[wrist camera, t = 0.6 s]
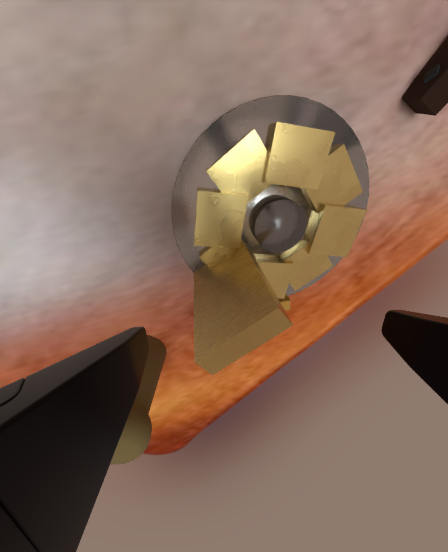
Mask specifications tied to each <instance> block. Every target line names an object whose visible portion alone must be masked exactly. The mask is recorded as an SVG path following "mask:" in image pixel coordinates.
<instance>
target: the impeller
mask: <svg viewBox="0 0 448 552" xmlns="http://www.w3.org/2000/svg"><path fill="white" fill-rule="evenodd" d="M274 122H281V123H287V124H292V125H298V126H304V127H310V128H315V129H321V130H327V131H332V132H335V135H334V139H333V142H332V145H331V147H332V146H333V145H335V144H344V145H345V147H346V150H347V152H348V155H349V157H350V160H351V162H352V165H353V168H354V170H355V173H356V175H357V178H358V180H359V183H360V185H361V188H362V190H363V192H362V193H361V194H359V195H358V196H357V197H355V198H354V199H353V200H351V201H350V202H348V203H347V204H348V205H355V206H357V207H360V208H363V209H366V208H367V202H368V196H369V174H368V166H367V162H366V157H365V154H364V151H363V149H362V146H361V144H360V142H359V140H358V138H357V136H356V135H355V133H354V131H353V130H352V129H351V128H350V126H349V125H348V124H347V123H346V122H345V120H344V119H343V118H341V117H340V116H339V115H338V114H337V113H335V112H334V111H333V110H331V109H330V108H328V107H326V106H325V105H323V104H321V103H319V102H316V101H313V100H310V99H308V98H303V97H297V96H291V95H286V96H270V97H264V98H259V99H256V100H253V101H250V102H247V103H244V104H242V105H240V106H238V107H236V108H234V109H233V110H231V111H229V112H227V113H226V114H225V115H223V116H222V117H220V118H219V119H218V120H216V121H215V122H214V123H213V124H212V125H211V126H210V127H209V128H208V129H207V130H206V131H205V132H204V133H203V134H202V135H201V136H200V137H199V139H198V140H197V141H196V143H195V144H194V145H193V146H192V148H191V150H190V151H189V153H188V155H187V157H186V158H185V160H184V162H183V164H182V167H181V169H180V172H179V174H178V177H177V181H176V184H175V188H174V193H173V201H172V223H173V230H174V235H175V238H176V242H177V245H178V247H179V250H180V252H181V254H182V256H183V258H184V260H185V261H186V263H187V265H188V266H189V267H190V269H191V270H192V271H193V272H196V271H197V270H198V269H200V268H201V267H202V266H203V265H205V263H204V262H203V261H202V260H201V259H200V258H199V251H200V250H202V249H203V248H204V247H206V246H194V229H195V214H196V199H197V187H204V188H212V189H219V188H218V187H217V185H216V184H215V183H214V181H213V180H212V179H211V177H210V176H209V174H208V173H207V172H206V169H207V168H208V167H209V166H211V165H212V164H213V163H214V162H215V161H216V160H217V159H219V158H220V157H221V156H222V155H223V154H224V153H225V152H226V151H228V150H229V149H230V148H231V147H232V146H233V145H234V144H235V143H237V142H238V141H239V140H240V139H241V138H242V137H243V136H244V135H246V134H247V133H248V132H249V131H250V130H252V129H255V131H256V132H257V134H258V136H259V138H260V139H261V141H262V143H263V145H264V146H265V142H266V137H267V131H268V126H269V124H271V123H274ZM311 212H312V209H311V207H310V206H309V204H308V202H307V200H306V198H305V197H304V195H303V193H302V191H301V189H300V187H292V186H284V185H276V184H271V185H270V186H269V187H267V188H266V189H265V190H264V191H262V192H261V193H260V194H259V195H257V196H256V197H255V198H254V199H252V200H251V201H250V202H249V203H248V204H247V206H246V212H245V218H244V224H243V230H242V236H241V238H242V240H243V241H244V242H245V243H246V245H247V246H248V247H249V248H250V250H251V251H252V252H253V253H255V254H268V255H281V254H282V253H284V252H285V251H286V250H289V249H291V248H292V247H294V246H295V245H296V244H297V243H298V242H299V241H300V240H302V239H303V238H304V234H305V231H306V228H307V225H308V222H309V218H310V215H311ZM363 219H364V218H363ZM362 222H363V221H362ZM361 224H362V223H361ZM360 227H361V225H360ZM359 229H360V228H359ZM358 232H359V230H358ZM357 234H358V233H357ZM356 236H357V235H356ZM355 238H356V237H355ZM328 258H329V259H330V261H331V263H332V265H333V267H334V266H335V265H336V264H337V263H338V262H339V261H340V260H341V259H342V257H340V256H328ZM333 267H331V268H330V269H328V270H327V271H325V272H324V273H322V274H321V275H319V276H318V277H316V278H315V279H313V280H312V281H310V282H309V283H307V284H305V285H304V286H302V287H301V288H299V289H298V290H296V291H295V290H294V289H293V287H292V286H291V285H290V283H289V284H288V288H287V291H286V294H285V297H284V298H278V299H279V301H280V303H281V305H282V306H283V308H284V310H285V311H286V310H290V299H289V298H288V295H292V294H294V293H296V292H299V291H301V290H303V289H305V288H307V287H309V286H310V285H312V284H314V283H315V282H316V281H318V280H319V279H321V278H322V277H323V276H324V275H326V274H327V273H328V272H329V271H330V270H331V269H332V268H333Z"/></svg>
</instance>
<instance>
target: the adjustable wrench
mask: <svg viewBox="0 0 448 552" xmlns="http://www.w3.org/2000/svg"><path fill="white" fill-rule="evenodd" d="M402 99H403V100H404V101H405V102H406V103H407V105H408V106H409V107H410V108H411V109H412V110H413V111H414V112H415V113H421V114H428V115H435V116H436V115H437V114H438V113H439V111H440V110H441V109H442V108H443V107H444V106H445V105H446V104H447V103H448V40H447V41H446V42H445V44H444V45H443V46H442V47H441V48H440V50H439V51H438V52H437V53H436V54H435V56H434V57H433V58H432V59H431V60H430V62H429V63H428V64H427V65H426V66H425V68H424V69H423V70H422V71H421V72H420V74H419V75H418V76H417V77H416V78H415V80H414V81H413V82H412V84H411V85H410V86H409V88H408V89H407V91H406V92H405V93H404V95H403V96H402Z"/></svg>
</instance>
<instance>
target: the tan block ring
mask: <svg viewBox="0 0 448 552" xmlns="http://www.w3.org/2000/svg"><path fill="white" fill-rule="evenodd" d="M334 135H335V132H332V131H327V130H321V129H315V128H310V127H304V126H298V125H292V124H287V123H281V122H274V123H271V124H269V126H268V131H267V137H266V142H265V146H264V145H263V143H262V141H261V139H260V138H259V136H258V134H257V132H256V131H255V129H252V130H250V131H249V132H248V133H247V134H246V135H244V136H243V137H242V138H241V139H240V140H239V141H238V142H237V143H235V144H234V145H233V146H232V147H231V148H230V149H229V150H228V151H226V152H225V153H224V154H223V155H222V156H221V157H220V158H219V159H217V160H216V161H215V162H214V163H213V164H212V165H211V166H209V167H208V168H207V169H206V172H207V173H208V174H209V176H210V177H211V179H212V180H213V181H214V183H215V184H216V185H217V187H218V188H219V189H212V188H204V187H197V199H196V214H195V229H194V246H206V247H204V248H203V249H202V250H200V251H199V258H200V259H201V260H202V261H203V262H204V263H205V265H203V266H202V267H201V268H200V269H198V270H197V271H196V272H194V353H195V363H196V364H198V365H199V366H200V367H202V368H203V369H205V370H206V371H207V372H209V373H210V374H212V375H214V374H215V373H217V372H218V371H220V370H222V369H223V368H225V367H226V366H228V365H230V364H231V363H233V362H235V361H236V360H238V359H239V358H241V357H243V356H244V355H246V354H247V353H249V352H251V351H252V350H254V349H255V348H257V347H259V346H260V345H262V344H264V343H265V342H267V341H268V340H270V339H272V338H273V337H275V336H276V335H278V334H280V333H281V332H283V331H284V330H286V329H288V328H289V327H291V326H292V325H293V324H292V322H291V321H290V319H289V317H288V315H287V314H286V312H285V310H284V308H283V306H282V305H281V303H280V301H279V299H278V298H284V297H285V294H286V291H287V288H288V284H289V283H290V285H291V286H292V287H293V289H294V290H295V291H296V290H298V289H299V288H301V287H302V286H304V285H305V284H307V283H309V282H310V281H312V280H313V279H315V278H316V277H318V276H319V275H321V274H322V273H324V272H325V271H327V270H328V269H330V268H331V267H333V265H332V263H331V261H330V259H329V258H328V256H340V257H347V256H348V254H349V251H350V249H351V247H352V244H353V242H354V240H355V237H356V235H357V233H358V230H359V228H360V225H361V223H362V221H363V218H364V216H365V214H366V211H367V210H366V209H363V208H360V207H357V206H355V205H348V204H347V203H348V202H350V201H351V200H353V199H354V198H355V197H357V196H358V195H359V194H361V193H362V192H363V190H362V188H361V185H360V183H359V180H358V178H357V175H356V173H355V170H354V168H353V165H352V162H351V160H350V157H349V155H348V152H347V150H346V147H345V145H344V144H335V145H333V146H332V147H331V145H332V142H333V139H334ZM271 184H276V185H284V186H292V187H300V189H301V191H302V193H303V195H304V197H305V198H306V200H307V202H308V204H309V206H310V207H311V209H312V212H311V215H310V218H309V222H308V225H307V228H306V231H305V234H304V238H303V239H302V240H300V241H299V242H298V243H297V244H296V245H295V246H294V247H292V248H291V249H289V250H286V251H285V252H284V253H282V254H281V255H268V254H255V253H253V252H252V251H251V250H250V248H249V247H248V246H247V245H246V243H245V242H244V241H243V240H242V238H241V236H242V230H243V224H244V218H245V212H246V206H247V204H248V203H249V202H250V201H251V200H252V199H254V198H255V197H256V196H257V195H259V194H260V193H261V192H262V191H264V190H265V189H266V188H267V187H269V186H270V185H271Z"/></svg>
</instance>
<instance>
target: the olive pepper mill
mask: <svg viewBox="0 0 448 552" xmlns="http://www.w3.org/2000/svg"><path fill="white" fill-rule="evenodd" d="M147 340H148V345H149V352H148V357H147V361H146V365H145V368H144V372H143V376H142V380H141V384H140V388H139V390H138V393H137V396H136V398H135V401H134V404H133V406H132V409H131V411H130V414H129V416H128V419H127V422H126V424H125V427H124V429H123V432H122V434H121V437H120V440H119V442H118V445H117V447H116V450H115V452H114V455H113V458H112V460H111V463H110V464H123V463H127V462H130V461H133V460H134V459H136V458H138V457H140V455H142V453H143V452H144V451H145V449H146V448H147V446H148V443H149V441H150V437H151V431H152V425H151V420H150V417H149V415H148V413H149V410H150V407H151V403H152V400H153V397H154V393H155V390H156V387H157V383H158V380H159V377H160V373H161V370H162V367H163V363H164V360H165V356H166V348H165V346H164V345H163V343H162V342H161V341H159V340H158V339H156V338H154V337H151V336H149V335H147Z"/></svg>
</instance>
